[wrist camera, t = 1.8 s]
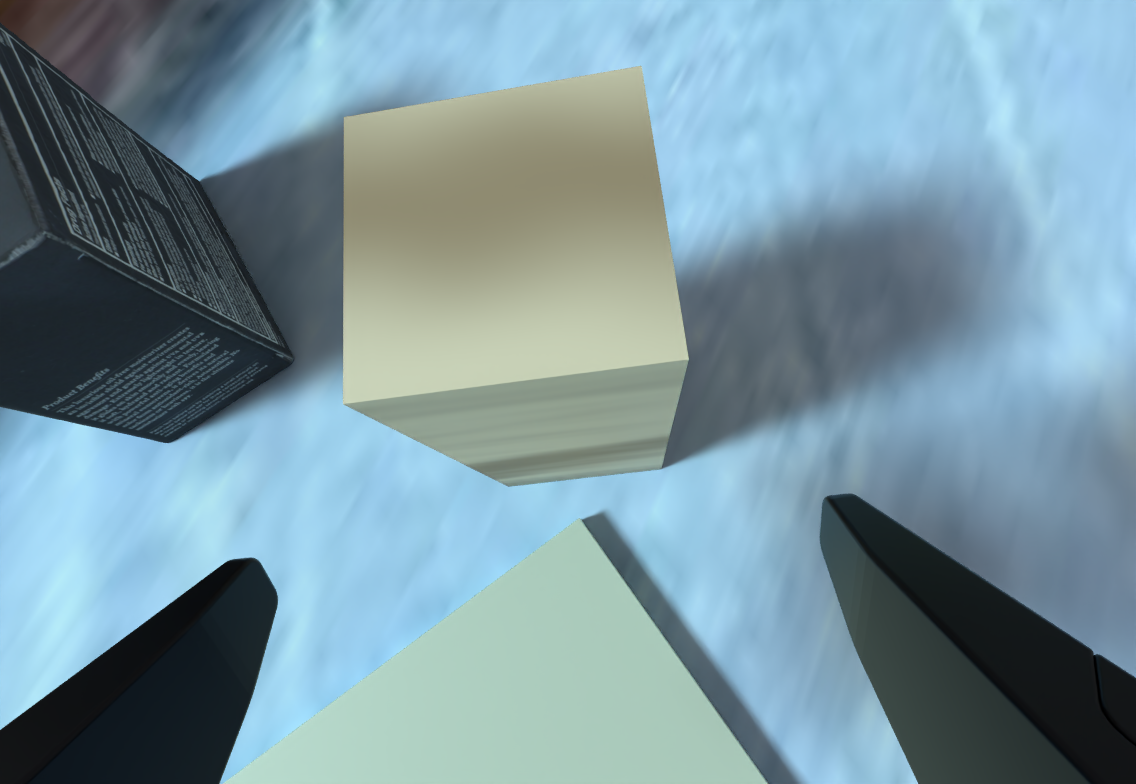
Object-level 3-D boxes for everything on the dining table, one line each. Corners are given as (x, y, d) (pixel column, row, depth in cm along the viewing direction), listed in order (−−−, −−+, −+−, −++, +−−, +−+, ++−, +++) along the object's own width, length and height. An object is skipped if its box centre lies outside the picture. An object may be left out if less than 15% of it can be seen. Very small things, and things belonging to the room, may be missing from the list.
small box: (75, 258, 26) (-272, 77, 16) (201, 178, 27) (-63, -47, 17) (160, 453, 24) (-199, 380, 13) (301, 361, 24) (53, 223, 14)
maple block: (661, 469, 21) (688, 359, 9) (508, 486, 22) (342, 404, 10) (640, 324, 23) (641, 65, 11) (498, 343, 23) (343, 116, 11)
